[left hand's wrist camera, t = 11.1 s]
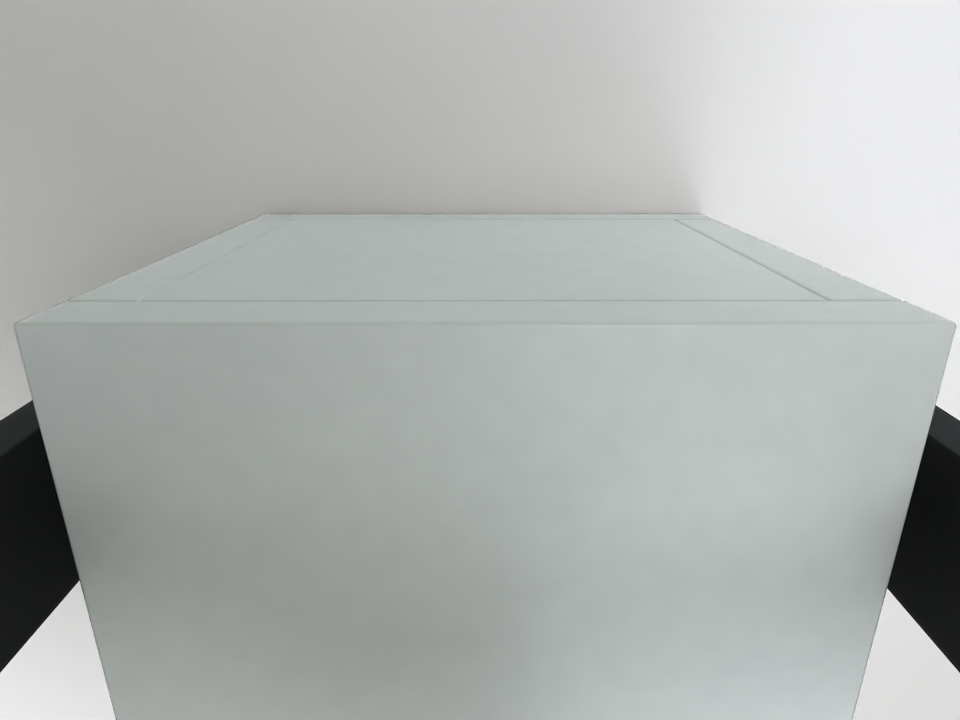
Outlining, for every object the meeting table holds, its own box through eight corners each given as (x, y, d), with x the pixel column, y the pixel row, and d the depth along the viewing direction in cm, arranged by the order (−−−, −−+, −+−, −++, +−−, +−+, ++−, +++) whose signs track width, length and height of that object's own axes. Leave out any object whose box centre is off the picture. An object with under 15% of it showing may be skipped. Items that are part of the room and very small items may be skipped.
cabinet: (635, 800, 24) (725, 1201, 15) (329, 799, 24) (240, 1200, 15) (703, 213, 17) (959, 322, 8) (262, 213, 17) (10, 322, 8)
